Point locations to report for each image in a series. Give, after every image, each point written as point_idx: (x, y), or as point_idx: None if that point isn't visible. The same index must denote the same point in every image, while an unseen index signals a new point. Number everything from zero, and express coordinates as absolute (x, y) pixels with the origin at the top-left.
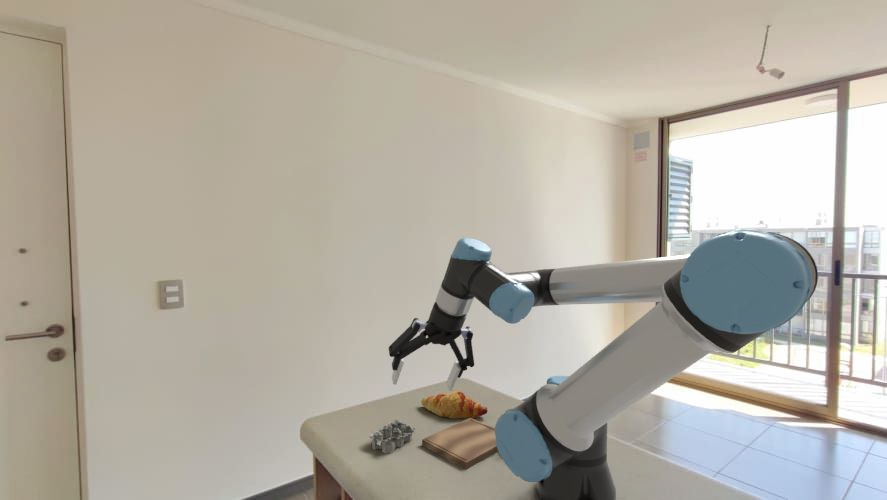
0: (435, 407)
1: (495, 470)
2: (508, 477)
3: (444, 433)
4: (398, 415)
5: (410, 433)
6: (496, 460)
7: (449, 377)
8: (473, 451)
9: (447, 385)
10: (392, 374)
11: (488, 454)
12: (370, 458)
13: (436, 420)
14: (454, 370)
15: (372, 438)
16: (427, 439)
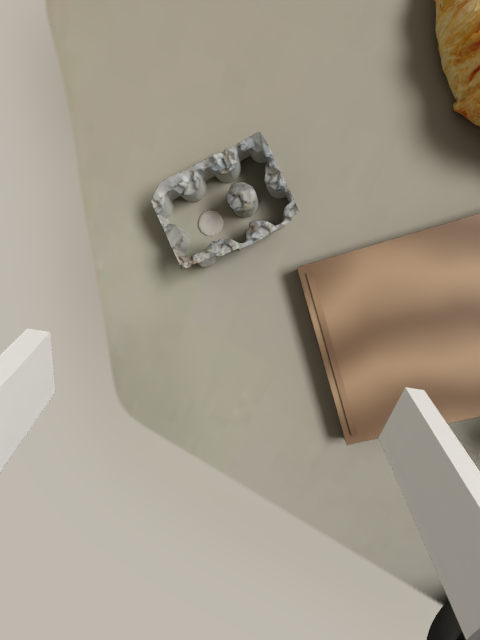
0: (457, 61)
1: None
2: None
3: (380, 265)
4: (318, 29)
5: (275, 226)
6: None
7: (422, 437)
8: None
9: (393, 410)
10: (18, 341)
11: None
12: (147, 268)
13: (422, 127)
14: (455, 547)
15: (157, 213)
16: (310, 278)
